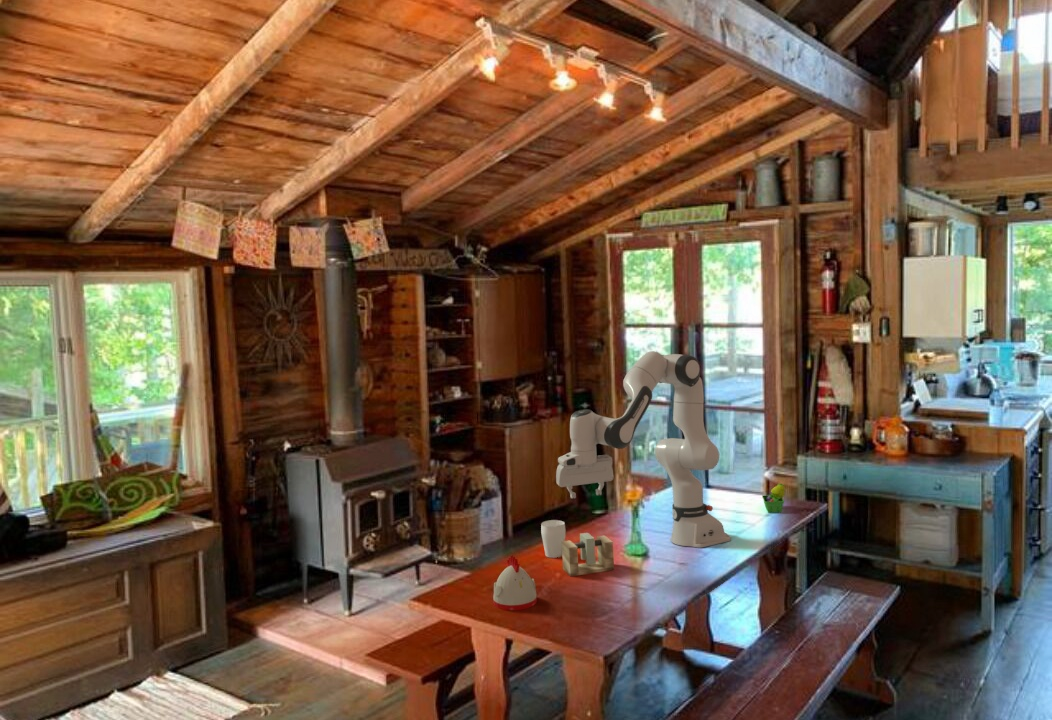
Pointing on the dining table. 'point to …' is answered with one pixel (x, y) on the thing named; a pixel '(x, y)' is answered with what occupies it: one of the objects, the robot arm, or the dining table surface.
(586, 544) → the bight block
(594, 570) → the wooden frame with rod
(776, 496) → the fruit basket
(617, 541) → the dining table surface
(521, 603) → the kitchen timer
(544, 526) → the cup
